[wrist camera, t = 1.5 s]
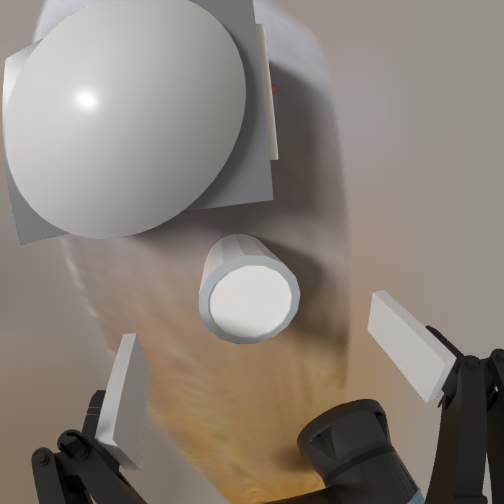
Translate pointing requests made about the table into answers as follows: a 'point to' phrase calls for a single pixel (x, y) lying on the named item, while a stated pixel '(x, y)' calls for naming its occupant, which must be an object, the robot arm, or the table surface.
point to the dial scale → (138, 117)
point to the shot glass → (246, 291)
